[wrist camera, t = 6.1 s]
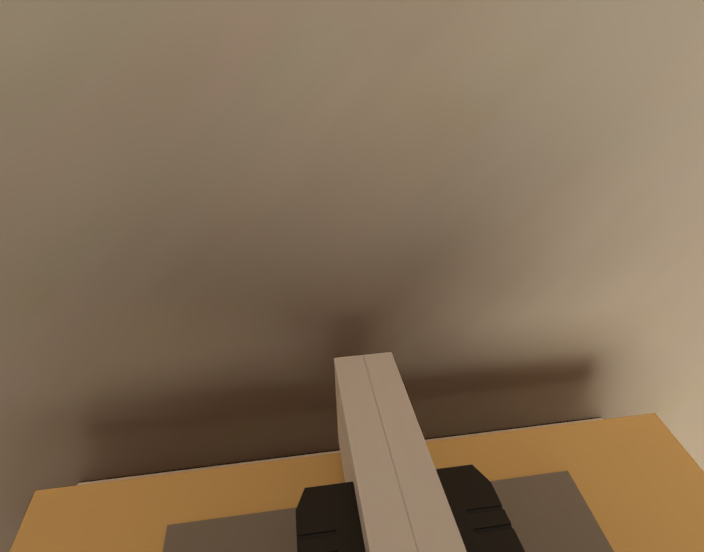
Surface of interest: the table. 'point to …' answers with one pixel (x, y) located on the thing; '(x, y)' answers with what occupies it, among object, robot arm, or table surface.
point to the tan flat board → (481, 451)
